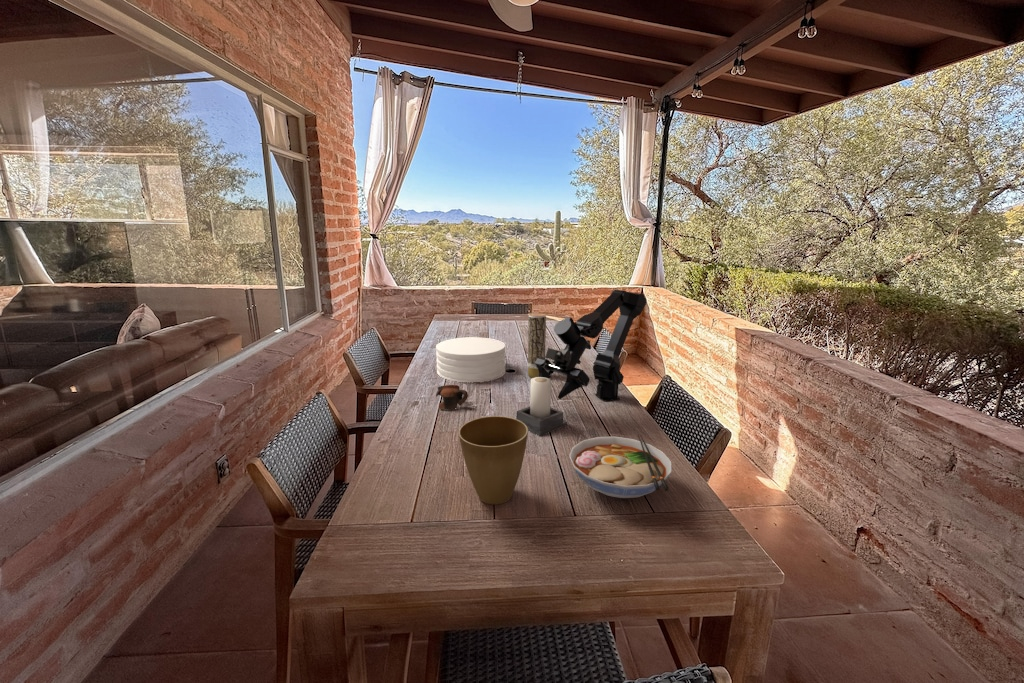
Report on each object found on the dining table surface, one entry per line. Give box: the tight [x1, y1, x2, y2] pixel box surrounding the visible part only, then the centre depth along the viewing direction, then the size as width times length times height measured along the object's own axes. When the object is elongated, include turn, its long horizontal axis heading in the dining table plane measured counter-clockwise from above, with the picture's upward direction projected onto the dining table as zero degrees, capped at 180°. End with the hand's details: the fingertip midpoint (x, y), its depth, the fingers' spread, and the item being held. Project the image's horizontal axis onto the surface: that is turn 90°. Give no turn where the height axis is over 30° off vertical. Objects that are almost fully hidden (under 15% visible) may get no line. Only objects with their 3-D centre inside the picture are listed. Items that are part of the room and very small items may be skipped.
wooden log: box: [527, 312, 547, 379], centre depth 180 cm, size 7×7×25 cm
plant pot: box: [458, 415, 529, 505], centre depth 100 cm, size 15×15×16 cm
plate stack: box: [435, 336, 506, 384], centre depth 187 cm, size 28×28×12 cm
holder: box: [516, 406, 569, 437], centre depth 138 cm, size 12×12×4 cm
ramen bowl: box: [568, 434, 673, 499], centre depth 104 cm, size 25×23×8 cm
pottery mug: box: [435, 384, 469, 410], centre depth 153 cm, size 12×10×8 cm
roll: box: [529, 377, 552, 419], centre depth 137 cm, size 6×6×13 cm
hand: (547, 394), depth 139 cm, fingers open, 9 cm apart
